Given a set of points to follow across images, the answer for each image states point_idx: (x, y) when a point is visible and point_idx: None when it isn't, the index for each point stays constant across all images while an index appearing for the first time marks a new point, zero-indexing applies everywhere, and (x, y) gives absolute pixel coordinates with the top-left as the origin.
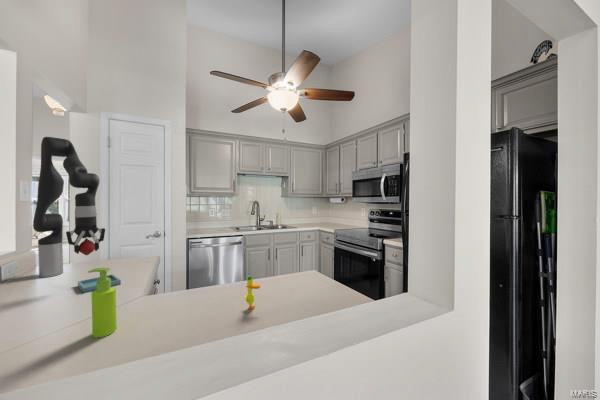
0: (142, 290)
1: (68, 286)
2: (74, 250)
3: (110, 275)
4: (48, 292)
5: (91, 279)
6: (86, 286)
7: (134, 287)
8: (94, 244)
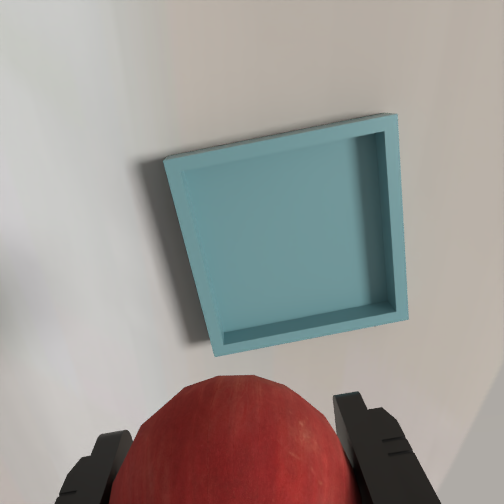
0: (451, 462)
1: (107, 115)
2: (68, 495)
3: (376, 132)
4: (14, 185)
5: (249, 156)
6: (222, 244)
7: (437, 401)
8: (365, 485)
